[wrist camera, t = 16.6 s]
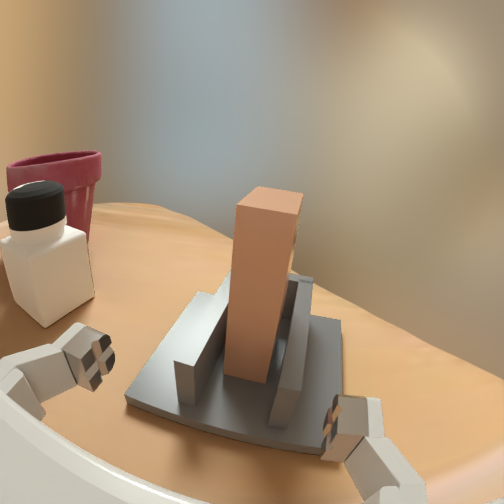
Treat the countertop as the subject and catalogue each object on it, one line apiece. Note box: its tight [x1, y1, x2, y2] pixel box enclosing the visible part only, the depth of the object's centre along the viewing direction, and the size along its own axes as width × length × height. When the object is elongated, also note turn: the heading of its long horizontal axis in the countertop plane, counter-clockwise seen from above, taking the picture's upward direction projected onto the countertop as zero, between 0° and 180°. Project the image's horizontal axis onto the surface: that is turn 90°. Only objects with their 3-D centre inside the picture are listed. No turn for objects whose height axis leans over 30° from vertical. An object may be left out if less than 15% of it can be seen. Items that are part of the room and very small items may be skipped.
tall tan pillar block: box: [224, 186, 303, 384], centre depth 19 cm, size 3×5×12 cm, turn 167°
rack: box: [124, 270, 342, 455], centre depth 21 cm, size 14×14×5 cm
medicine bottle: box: [0, 180, 95, 328], centre depth 23 cm, size 7×7×12 cm
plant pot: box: [7, 151, 101, 243], centre depth 34 cm, size 14×14×13 cm
